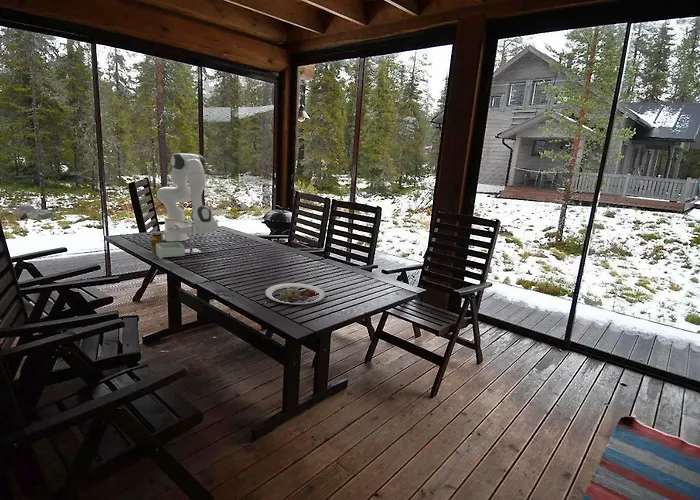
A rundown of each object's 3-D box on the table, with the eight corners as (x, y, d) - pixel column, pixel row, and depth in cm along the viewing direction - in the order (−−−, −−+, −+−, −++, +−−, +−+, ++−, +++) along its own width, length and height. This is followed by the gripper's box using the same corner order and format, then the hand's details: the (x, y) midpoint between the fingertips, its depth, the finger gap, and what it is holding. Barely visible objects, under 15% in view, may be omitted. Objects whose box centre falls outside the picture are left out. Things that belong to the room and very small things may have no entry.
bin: (156, 254, 247) (155, 243, 246) (179, 252, 256) (179, 242, 254) (160, 259, 236) (160, 248, 235) (184, 257, 245) (184, 247, 243)
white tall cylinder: (165, 239, 244) (164, 217, 241) (173, 239, 247) (173, 217, 244) (166, 241, 240) (166, 219, 237) (175, 241, 243) (175, 218, 240)
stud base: (181, 251, 259) (181, 240, 257) (197, 250, 265) (197, 239, 263) (185, 255, 251) (185, 243, 250) (201, 253, 257) (201, 242, 255)
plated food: (253, 292, 196) (253, 286, 195) (301, 283, 217) (301, 277, 216) (288, 312, 175) (288, 305, 174) (337, 299, 196) (337, 293, 195)
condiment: (148, 252, 251) (148, 233, 248) (159, 249, 259) (158, 232, 256) (157, 253, 249) (157, 235, 246) (167, 251, 256) (167, 233, 254)
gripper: (187, 219, 257) (164, 220, 249) (196, 225, 241) (172, 225, 233) (187, 229, 258) (165, 229, 250) (196, 235, 242) (172, 236, 234)
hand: (168, 227), depth 241 cm, fingers closed on white tall cylinder, 5 cm apart
